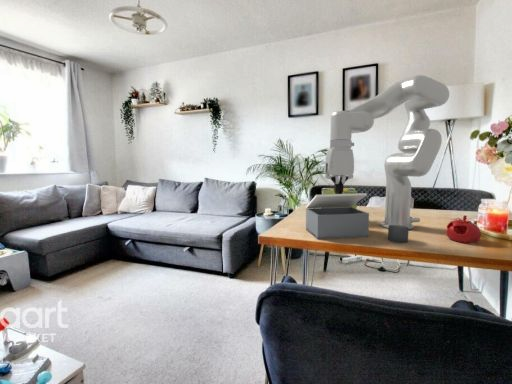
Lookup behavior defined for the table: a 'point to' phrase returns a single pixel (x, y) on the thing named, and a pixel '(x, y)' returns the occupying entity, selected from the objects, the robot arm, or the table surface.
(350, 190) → the protein box
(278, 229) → the table surface
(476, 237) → the pomegranate
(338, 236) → the storage box
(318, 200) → the box lid
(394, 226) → the tape roll
